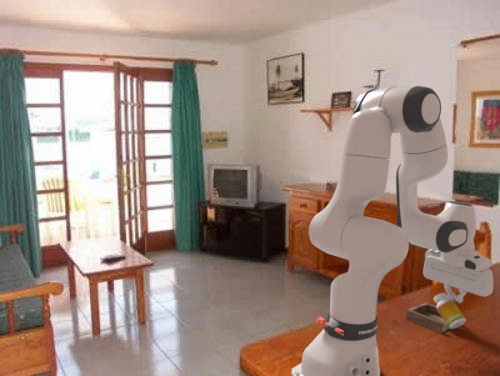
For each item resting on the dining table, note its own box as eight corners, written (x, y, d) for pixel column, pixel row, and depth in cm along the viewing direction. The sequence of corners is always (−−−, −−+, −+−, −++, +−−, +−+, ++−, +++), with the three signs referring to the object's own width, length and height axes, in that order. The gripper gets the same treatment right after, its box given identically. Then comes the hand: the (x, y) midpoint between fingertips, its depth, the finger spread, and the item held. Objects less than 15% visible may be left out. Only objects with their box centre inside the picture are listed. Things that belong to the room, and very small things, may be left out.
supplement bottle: (466, 318, 130) (446, 289, 136) (449, 326, 130) (430, 297, 136) (466, 323, 134) (447, 295, 140) (449, 331, 134) (431, 303, 140)
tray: (441, 333, 131) (441, 323, 131) (406, 318, 141) (406, 309, 141) (460, 324, 137) (461, 315, 136) (425, 311, 147) (426, 302, 146)
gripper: (419, 249, 138) (418, 292, 140) (485, 267, 121) (482, 315, 124) (432, 245, 141) (430, 287, 144) (497, 262, 125) (494, 309, 127)
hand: (455, 300), depth 134 cm, fingers closed
